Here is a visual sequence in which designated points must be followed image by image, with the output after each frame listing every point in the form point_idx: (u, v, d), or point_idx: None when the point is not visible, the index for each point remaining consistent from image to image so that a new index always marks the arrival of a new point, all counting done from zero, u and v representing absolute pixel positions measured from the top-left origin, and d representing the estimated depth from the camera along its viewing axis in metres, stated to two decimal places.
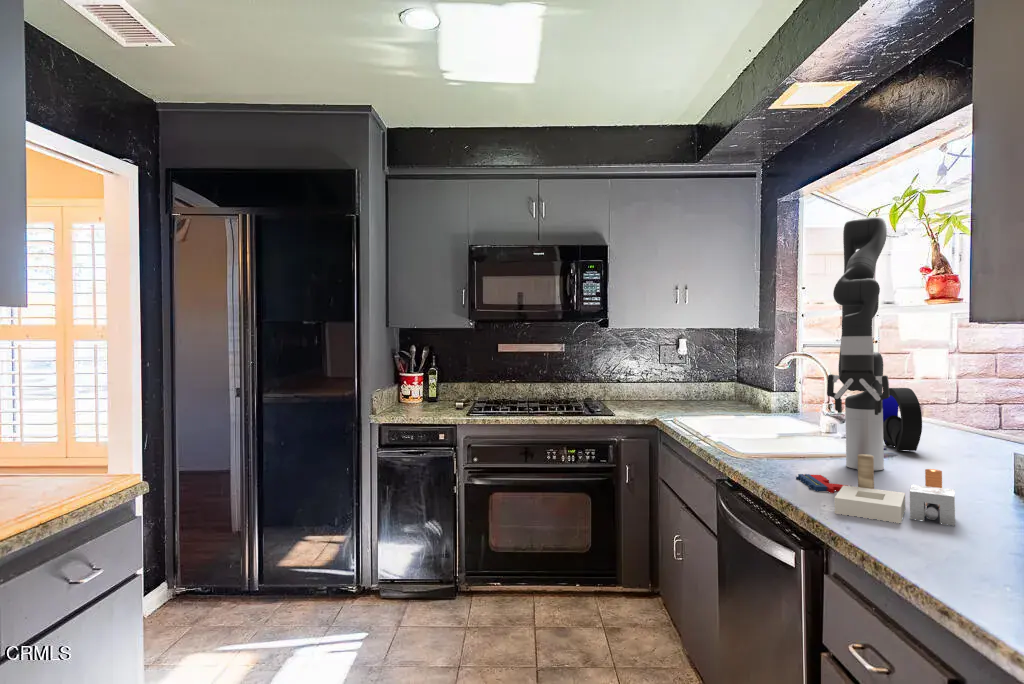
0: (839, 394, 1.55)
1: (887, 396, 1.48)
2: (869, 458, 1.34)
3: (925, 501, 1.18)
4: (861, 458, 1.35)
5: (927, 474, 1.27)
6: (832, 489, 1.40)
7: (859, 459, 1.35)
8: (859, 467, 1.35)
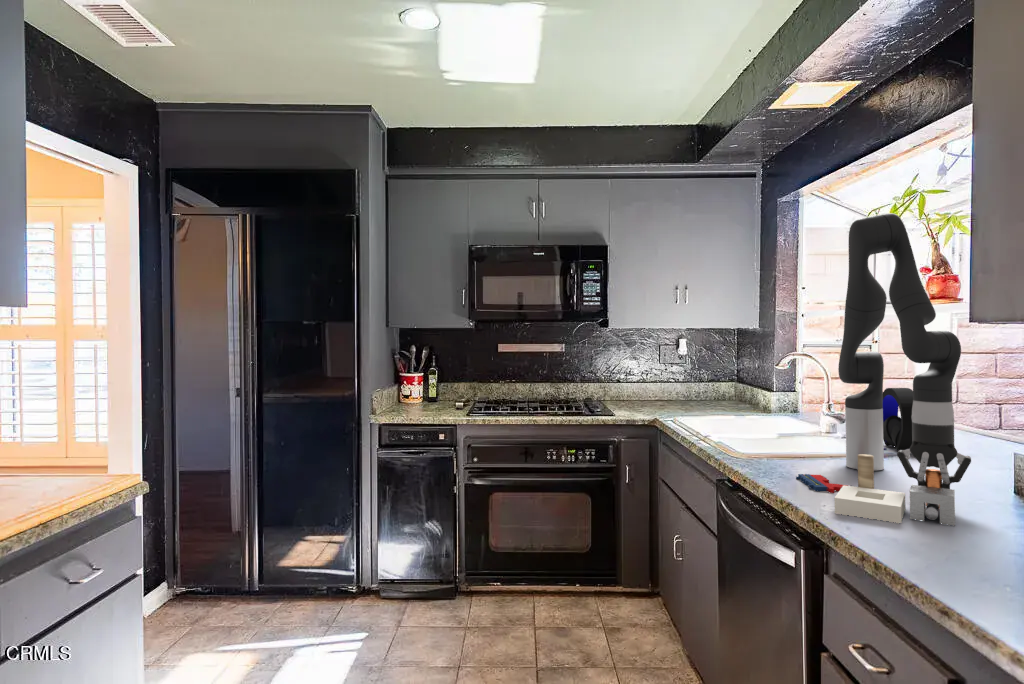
0: (924, 476, 1.27)
1: (958, 480, 1.23)
2: (869, 458, 1.34)
3: (925, 501, 1.18)
4: (861, 458, 1.35)
5: (927, 474, 1.27)
6: (832, 489, 1.40)
7: (859, 459, 1.35)
8: (859, 467, 1.35)
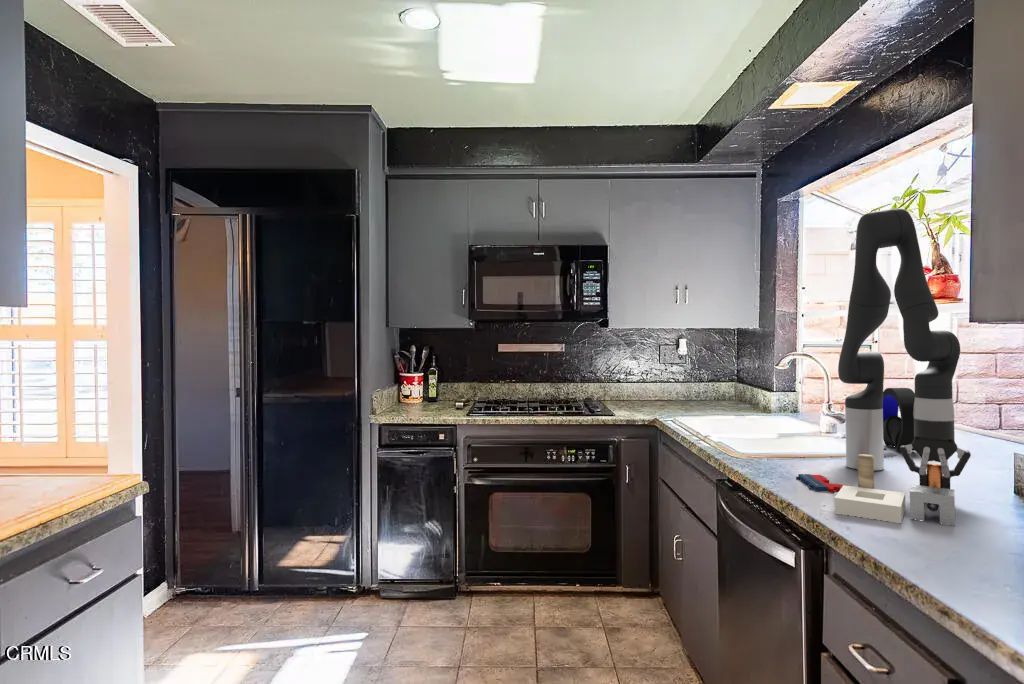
0: (925, 470, 1.32)
1: (958, 474, 1.28)
2: (869, 458, 1.34)
3: (925, 501, 1.18)
4: (861, 458, 1.35)
5: (928, 468, 1.32)
6: (832, 489, 1.40)
7: (859, 459, 1.35)
8: (859, 467, 1.35)
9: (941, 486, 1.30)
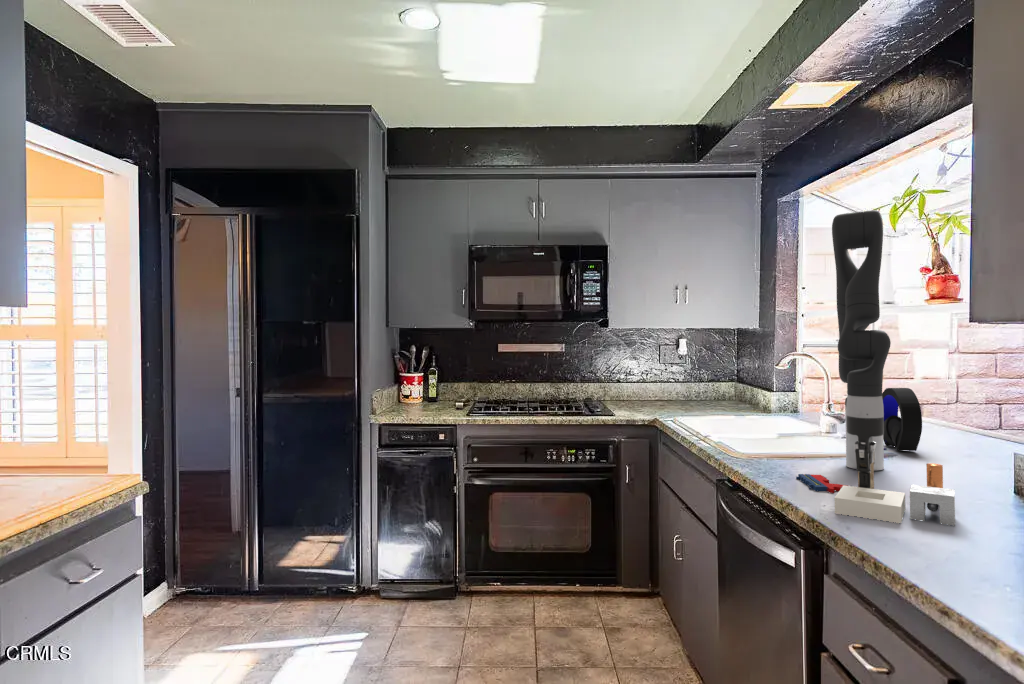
0: None
1: None
2: None
3: (925, 501, 1.18)
4: None
5: (928, 468, 1.32)
6: (832, 489, 1.40)
7: None
8: None
9: (941, 486, 1.30)
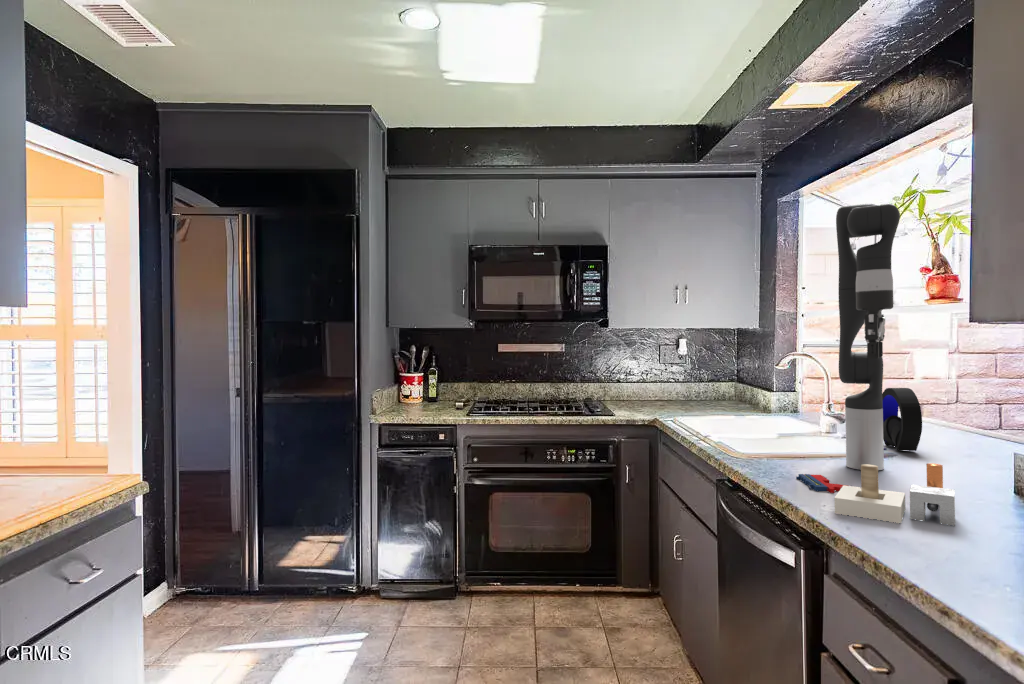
0: None
1: (865, 337, 1.32)
2: (873, 469, 1.24)
3: (925, 501, 1.18)
4: (865, 469, 1.25)
5: (928, 468, 1.32)
6: (832, 489, 1.40)
7: (862, 470, 1.25)
8: (862, 479, 1.26)
9: (941, 486, 1.30)
